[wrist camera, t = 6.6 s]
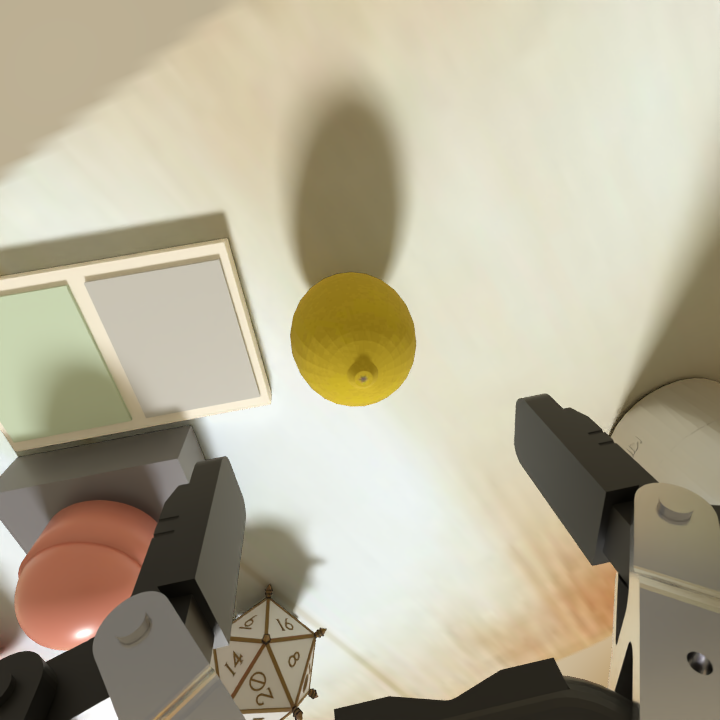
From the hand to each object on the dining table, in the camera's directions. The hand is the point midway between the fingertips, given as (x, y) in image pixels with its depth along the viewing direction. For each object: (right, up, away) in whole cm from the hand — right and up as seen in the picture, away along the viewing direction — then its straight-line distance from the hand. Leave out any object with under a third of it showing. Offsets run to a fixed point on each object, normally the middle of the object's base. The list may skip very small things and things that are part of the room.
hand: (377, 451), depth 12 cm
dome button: (-14, -7, +12) cm, 20 cm away
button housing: (-15, -6, +15) cm, 22 cm away
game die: (-8, -17, +22) cm, 29 cm away
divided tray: (-13, +3, +10) cm, 17 cm away
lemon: (-1, +5, +11) cm, 12 cm away
